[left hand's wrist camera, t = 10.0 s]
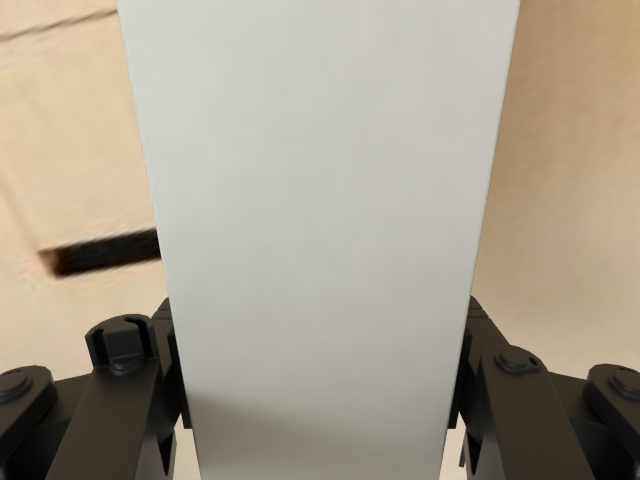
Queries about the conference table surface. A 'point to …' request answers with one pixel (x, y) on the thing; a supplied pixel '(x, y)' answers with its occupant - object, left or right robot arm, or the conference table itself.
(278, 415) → the bar
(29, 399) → the left robot arm
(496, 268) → the conference table surface
